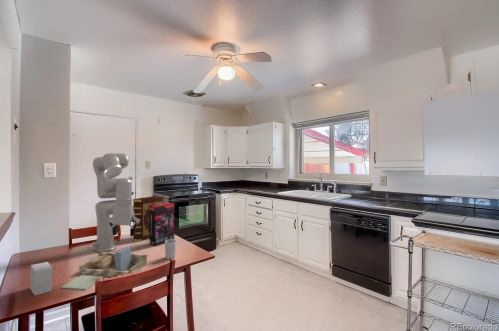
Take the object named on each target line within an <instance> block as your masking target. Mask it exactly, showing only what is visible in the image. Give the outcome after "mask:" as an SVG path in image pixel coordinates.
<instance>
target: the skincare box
mask: <svg viewBox="0 0 499 331" xmlns="http://www.w3.org/2000/svg"><path fill="white" fill-rule="evenodd" d="M29 287H30V290H31V293H32V294H34V295H33V296H40V295H42V294H46V293H50V292H52V291H53V267H52V265H51V264H50V263H49V262H48V261H45V262H40V263H34V264H31V265H30V286H29Z"/></svg>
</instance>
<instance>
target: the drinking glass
mask: <svg viewBox="0 0 499 331" xmlns="http://www.w3.org/2000/svg"><path fill="white" fill-rule="evenodd" d="M176 252H177V239H175V238H174V239H169V240H166V241H165V243H164V253H165V256H164V257H165V259H166V260H170V259H169V258H174V259H176V257H177V253H176Z"/></svg>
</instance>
